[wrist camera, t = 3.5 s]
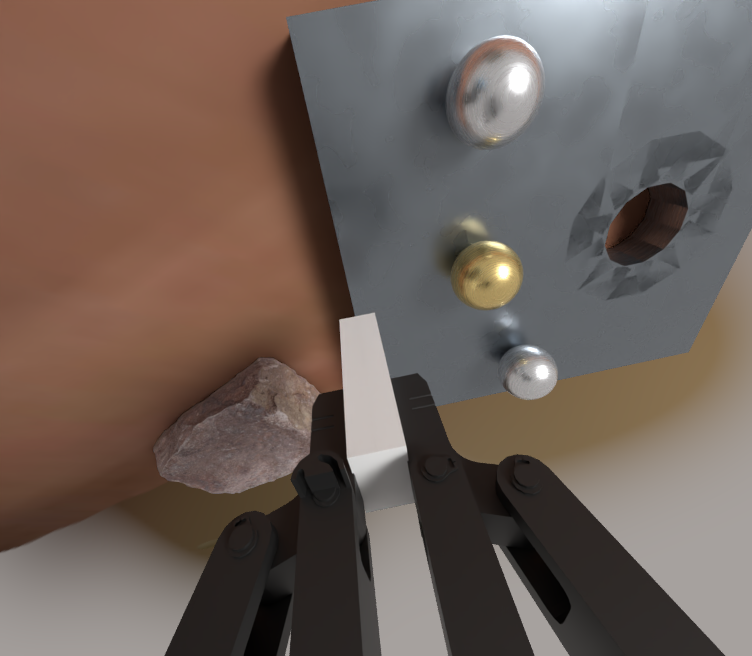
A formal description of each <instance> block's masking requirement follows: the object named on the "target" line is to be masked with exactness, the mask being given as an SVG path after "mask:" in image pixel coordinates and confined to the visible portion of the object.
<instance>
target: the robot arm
mask: <svg viewBox="0 0 752 656" xmlns="http://www.w3.org/2000/svg"><path fill="white" fill-rule="evenodd" d="M339 322H340V340H341V358H342V376H343V389H342V390H337V391H332V392H327V393H322V394H319V395H318V397H317V398H316V400H315V402H314V404H313V406H312V422H311V439H310V454H308V455H307V456H306V457H304V458H303V459H302V460H301V461H300V462H299V463H298V464H297V466H296V467H295V469H294V470H293V473H292V477H291V482H292V483H293V485H294V487H295V489H296V491H297V493H298V495H297V496H296V497H295V498H294V499H293V500H292V501H290V502H289V503H287V504H286V505H284V506H282V507H280V508H279V509H277V510H275V511H273V512H271V513H270V514H268V515H265V514H264V513H261V512H257V511H251V512H245V513H243V514H241V515H240V516H238V517H236V518H235V519H234V520H232V521H231V522H230V523H229V524H228V525H227V526H226V527H225V529H224V530H223V532H222V533H221V535H220V537H219V538H218V540H217V542H216V545H215V547H214V549H213V551H212V554H211V556H210V558H209V560H208V562H207V564H206V566H205V569H204V571H203V573H202V575H201V578H200V580H199V582H198V584H197V586H196V588H195V591H194V593H193V595H192V597H191V599H190V601H189V604H188V606H187V608H186V610H185V612H184V614H183V617H182V619H181V621H180V623H179V625H178V627H177V630H176V632H175V634H174V636H173V638H172V641H171V643H170V645H169V647H168V649H167V651H166V654H165V656H285V652H286V648H287V644H288V639H289V636H290V632H291V642H290V655H289V656H381V648H380V638H379V627H378V617H377V608H376V599H375V588H374V578H373V568H372V558H371V548H370V538H369V533H368V529H367V526H366V521H365V511H366V513H368V512H373V511H377V510H382V509H387V508H392V507H397V506H401V505H406V504H411V503H415V505H416V509H417V513H418V519H419V524H420V530H421V536H422V538H423V543H424V547H425V552H426V556H427V561H428V565H429V570H430V574H431V578H432V583H433V588H434V592H435V597H436V602H437V606H438V610H439V615H440V620H441V624H442V629H443V633H444V638H445V642H446V647H447V651H448V656H534V653H533V650H532V648H531V645H530V642H529V640H528V637H527V635H526V632H525V630H524V627H523V624H522V621H521V619H520V617H519V614H518V611H517V608H516V606H515V603H514V600H513V598H512V595H511V593H510V590H509V587H508V585H507V582H506V579H505V577H504V574H503V572H502V569H501V566H500V564H499V561H498V558H497V556H496V553H495V551H494V548H493V545H492V544H496V545H499V546H500V548H501V549H502V551H503V552H504V554H505V556H506V557H507V559H508V560H509V562H510V563H511V565H512V567H513V568H514V570H515V571H516V573H517V574H518V576H519V577H520V579H521V581H522V582H523V584H524V585H525V587H526V588H527V590H528V591H529V593H530V595H531V596H532V598H533V599H534V601H535V602H536V604H537V606H538V607H539V609H540V610H541V612H542V613H543V615H544V616H545V618H546V620H547V621H548V623H549V624H550V626H551V627H552V629H553V630H554V632H555V634H556V635H557V637H558V638H559V640H560V641H561V643H562V645H563V646H564V648H565V649H566V651H567V652H568V654H569V655H570V656H725V655H724V654H723V653H722V652H721V651H720V650H719V649H718V648H717V646H716V645H715V644H714V643H713V642H712V641H711V640H710V639H709V638H708V637H707V636H706V635H705V634H704V633H703V632H702V631H701V629H700V628H699V627H698V626H697V625H696V624H695V623H694V622H693V621H692V620H691V619H690V618H689V617H688V616H687V615H686V613H685V612H684V611H683V610H682V609H681V608H680V607H679V606H678V605H677V604H676V603H675V602H674V601H673V600H672V599H671V598H670V597H669V595H667V593H666V592H665V591H664V590H663V589H662V588H661V587H660V586H659V585H658V584H657V583H656V582H655V580H654V579H653V578H652V577H651V576H650V575H649V574H648V573H647V572H646V571H645V570H644V569H643V568H642V567H641V566H640V565H639V564H638V563H637V561H636V560H635V559H634V558H633V557H632V556H631V555H630V554H629V553H628V552H627V551H626V550H625V549H624V547H623V546H622V545H621V544H620V543H619V542H618V541H617V540H616V539H615V538H614V537H613V536H612V535H611V534H610V533H609V532H608V531H607V529H606V528H605V527H604V526H603V525H602V524H601V523H600V522H599V521H598V520H597V519H596V518H595V517H594V516H593V514H591V512H590V511H589V510H588V509H587V508H586V507H585V506H584V505H583V504H582V503H581V502H580V501H579V500H578V499H577V497H576V496H575V495H574V494H573V493H572V492H571V491H570V490H569V489H568V488H567V487H566V486H565V485H564V484H563V483H562V481H561V480H560V479H559V478H558V477H557V476H556V475H555V474H554V473H553V472H552V471H551V470H550V469H549V468H548V467H547V466H546V465H544V464H543V463H542V462H540V460H538V459H535V458H533V457H530V456H528V455H518V454H517V455H513V456H509V457H507V458H505V459H504V460H503V461H501V462H500V464H499V465H495V464H486V463H478V462H473V461H470V460H468V459H465V458H463V457H462V456H460V455H459V454H458V453H457V452H456V451H455V450H454V449H453V448H452V446H451V444H450V442H449V440H448V437H447V435H446V432H445V429H444V426H443V424H442V421H441V418H440V416H439V413H438V410H437V408H436V406H435V402H434V400H433V397H432V395H431V391H430V389H429V386H428V383H427V382H426V381H425V380H424V379H423V378H422V377H421V376H420V375H419V374H418V373H415V374H410V375H406V376H401V377H396V378H391V379H390V375H389V371H388V367H387V362H386V358H385V354H384V350H383V346H382V341H381V337H380V333H379V329H378V324H377V320H376V316H375V313H370V314H365V315H360V316H355V317H350V318H345V319H340V320H339ZM364 508H365V509H364Z"/></svg>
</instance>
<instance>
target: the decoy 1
mask: <svg viewBox="0 0 752 656" xmlns="http://www.w3.org/2000/svg"><path fill="white" fill-rule="evenodd" d="M544 89H545V74H544V68H543V65H542V62H541V60H540V57H539V55H538V54H537V52H536V50H535V49H534V48H533V47H532V46H531V45H530V44H528V43H527V42H526V41H524V40H522V39H520V38H518V37H514V36H507V35H503V36H496V37H492V38H489V39H486V40H484V41H482V42H481V43H479V44H478V45H476V46H474V47H473V48H472V49H471V50H470V51H469V52H468V53H467V54H466V55H465V56H464V57H463V58H462V60H461V61H460V62H459V64H458V65H457V67H456V68H455V70H454V72H453V74H452V76H451V79H450V82H449V85H448V89H447V94H446V115H447V119H448V123H449V125H450V127H451V130H452V131H453V133H454V134H455V136H456V137H457V138H458V139H459V140H460V141H461V142H462V143H463V144H465V145H467V146H469V147H471V148H474V149H478V150H494V149H497V148H501V147H503V146H506V145H508V144H509V143H511V142H513V141H514V140H515V139H517V138H518V137H519V136H520V135H522V134H523V133H524V132H525V130H526V129H527V128H528V127H529V126H530V124H531V123H532V121H533V120H534V118H535V117H536V115H537V113H538V111H539V108H540V106H541V103H542V99H543V95H544Z"/></svg>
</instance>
